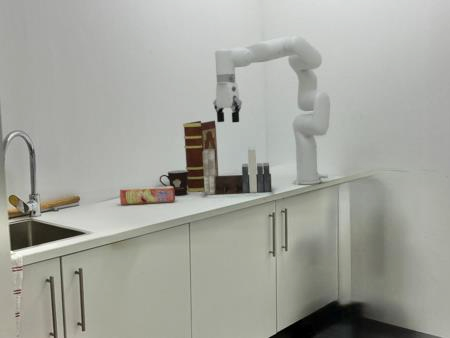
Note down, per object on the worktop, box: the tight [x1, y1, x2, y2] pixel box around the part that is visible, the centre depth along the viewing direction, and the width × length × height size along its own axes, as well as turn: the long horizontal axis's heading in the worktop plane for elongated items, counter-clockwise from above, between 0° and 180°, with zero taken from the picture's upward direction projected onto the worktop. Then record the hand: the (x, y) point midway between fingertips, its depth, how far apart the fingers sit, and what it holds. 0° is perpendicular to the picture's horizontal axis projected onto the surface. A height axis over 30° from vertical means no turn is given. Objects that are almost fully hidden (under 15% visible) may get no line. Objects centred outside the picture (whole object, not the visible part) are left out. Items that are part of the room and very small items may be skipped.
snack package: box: [119, 185, 176, 206], centre depth 248 cm, size 21×7×7 cm, turn 98°
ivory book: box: [247, 146, 258, 194], centre depth 263 cm, size 3×11×18 cm, turn 4°
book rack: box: [203, 149, 273, 197], centre depth 263 cm, size 28×14×19 cm, turn 94°
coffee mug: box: [159, 169, 188, 197], centre depth 267 cm, size 12×9×10 cm
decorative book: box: [182, 120, 219, 193], centre depth 282 cm, size 22×8×30 cm, turn 168°
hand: (228, 122), depth 253 cm, fingers open, 9 cm apart
